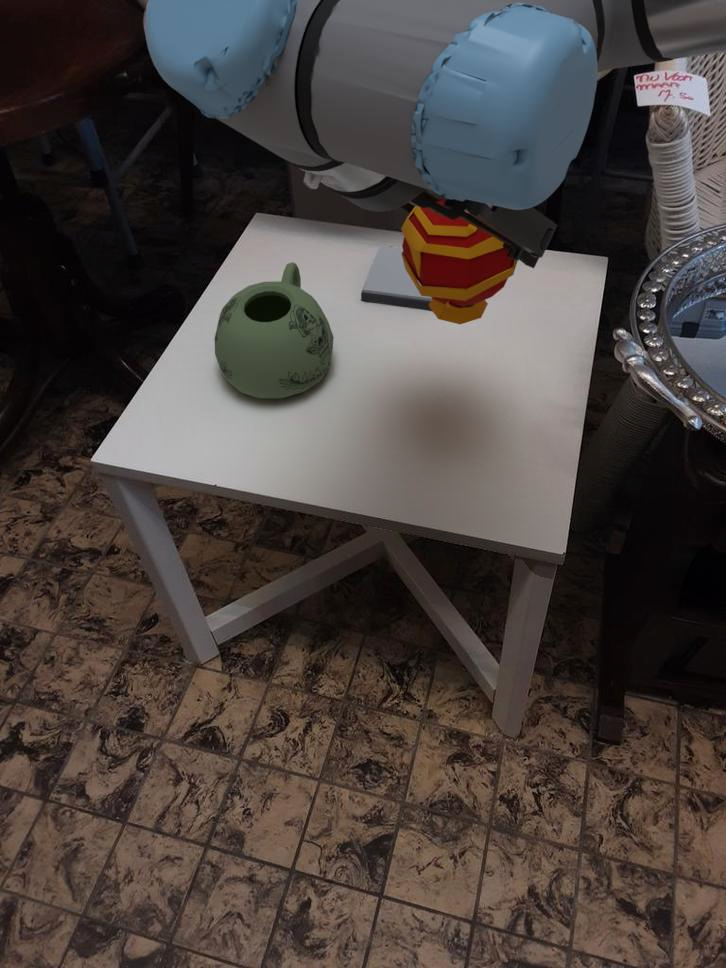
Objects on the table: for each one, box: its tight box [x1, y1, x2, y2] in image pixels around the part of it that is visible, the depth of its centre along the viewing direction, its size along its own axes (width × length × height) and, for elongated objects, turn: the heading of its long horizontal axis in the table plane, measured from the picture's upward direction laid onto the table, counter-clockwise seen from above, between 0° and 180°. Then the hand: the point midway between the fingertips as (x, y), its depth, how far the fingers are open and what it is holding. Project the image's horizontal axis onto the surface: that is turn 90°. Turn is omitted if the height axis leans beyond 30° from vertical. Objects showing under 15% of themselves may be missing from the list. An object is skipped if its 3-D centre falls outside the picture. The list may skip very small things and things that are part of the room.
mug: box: [214, 261, 334, 399], centre depth 83 cm, size 16×13×9 cm
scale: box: [360, 245, 432, 311], centre depth 93 cm, size 9×9×2 cm
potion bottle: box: [400, 200, 518, 325], centre depth 64 cm, size 10×10×15 cm
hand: (482, 229), depth 66 cm, fingers closed on potion bottle, 10 cm apart
